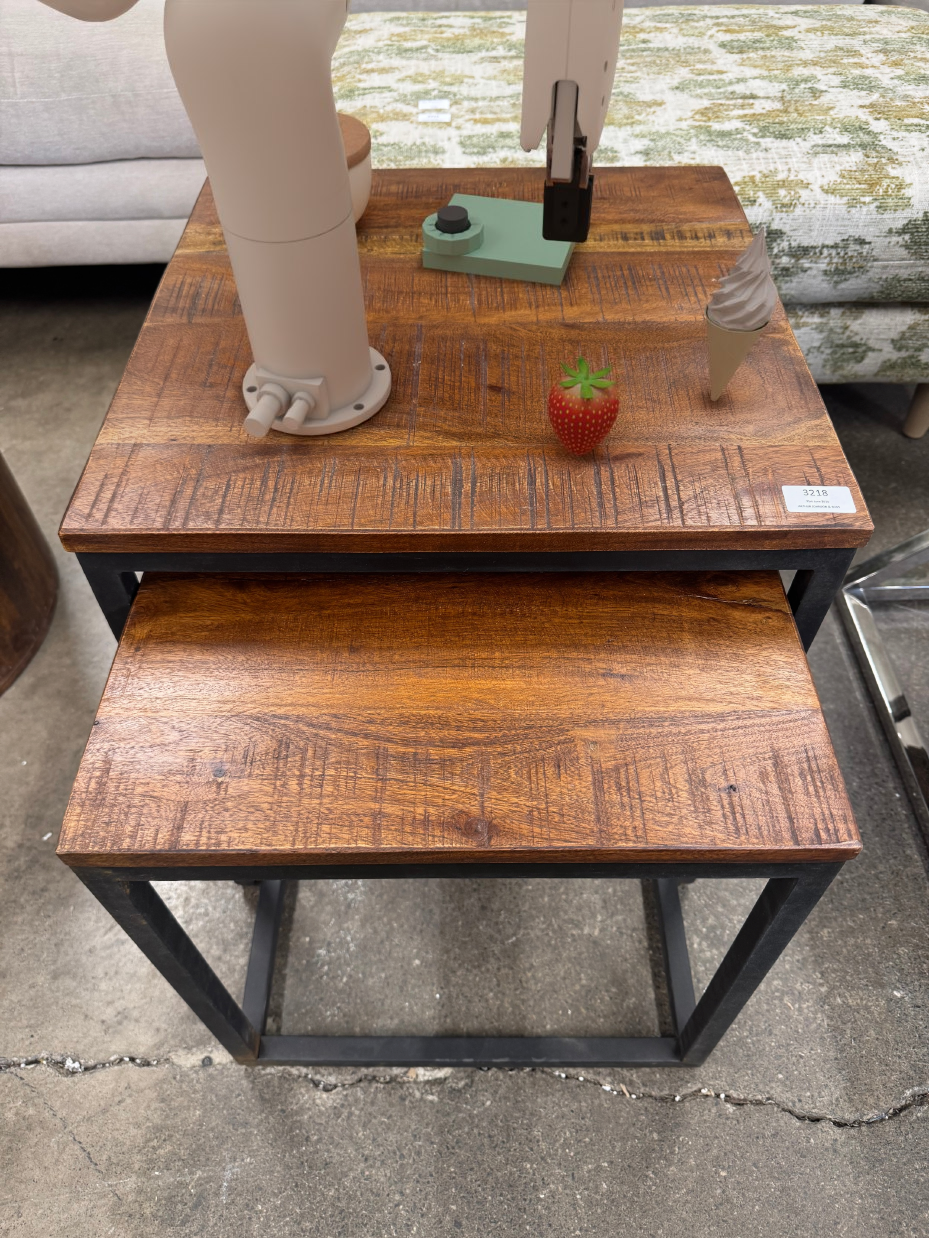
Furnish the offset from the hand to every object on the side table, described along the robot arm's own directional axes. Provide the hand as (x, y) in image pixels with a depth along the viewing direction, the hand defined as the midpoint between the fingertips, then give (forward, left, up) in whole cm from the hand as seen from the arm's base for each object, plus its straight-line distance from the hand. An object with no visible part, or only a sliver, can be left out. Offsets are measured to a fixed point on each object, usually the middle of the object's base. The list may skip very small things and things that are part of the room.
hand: (565, 235), depth 60 cm
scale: (+23, +10, -14) cm, 29 cm away
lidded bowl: (+22, +30, -14) cm, 40 cm away
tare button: (+20, +14, -11) cm, 27 cm away
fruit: (-6, -3, -14) cm, 16 cm away
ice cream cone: (+3, -13, -14) cm, 20 cm away
